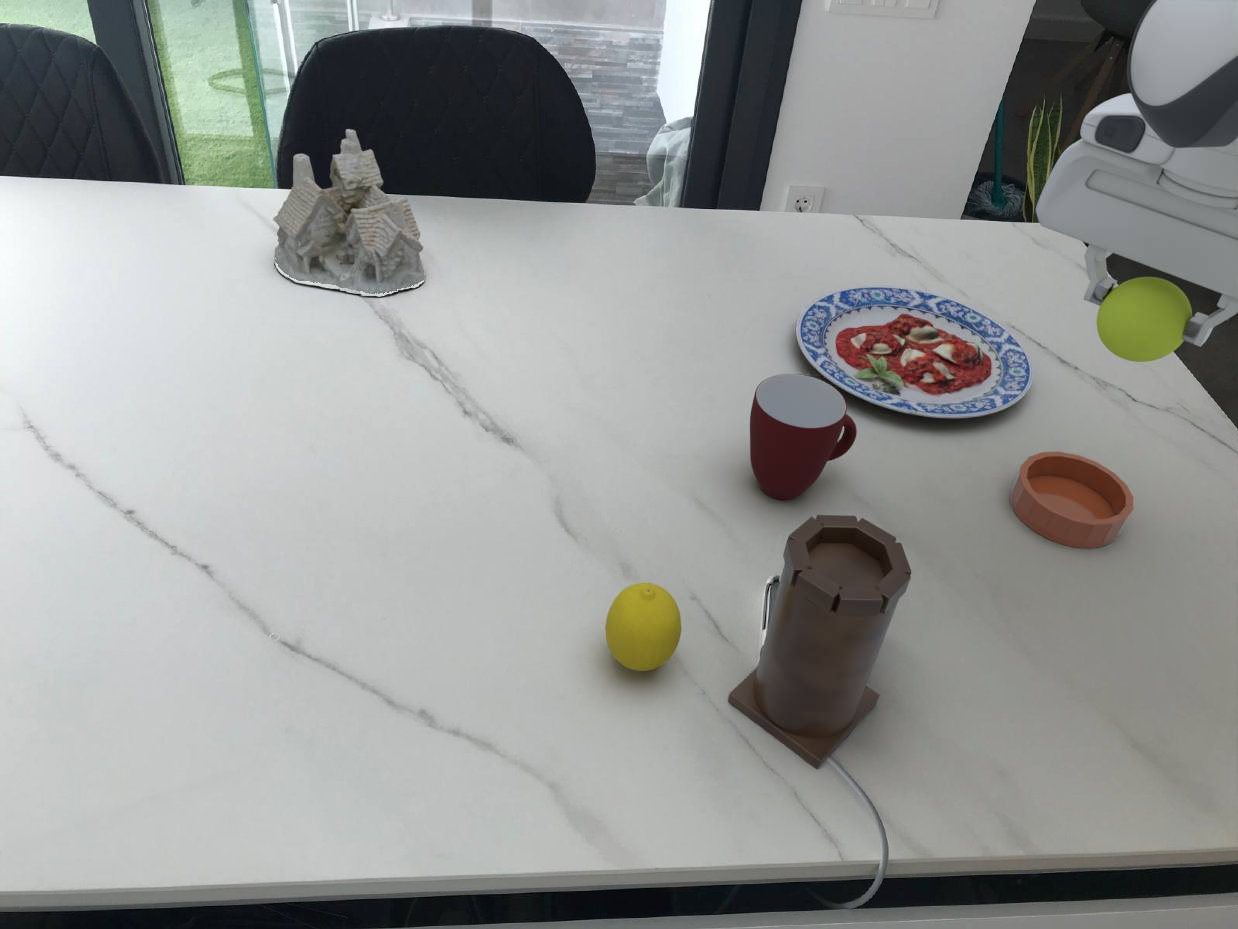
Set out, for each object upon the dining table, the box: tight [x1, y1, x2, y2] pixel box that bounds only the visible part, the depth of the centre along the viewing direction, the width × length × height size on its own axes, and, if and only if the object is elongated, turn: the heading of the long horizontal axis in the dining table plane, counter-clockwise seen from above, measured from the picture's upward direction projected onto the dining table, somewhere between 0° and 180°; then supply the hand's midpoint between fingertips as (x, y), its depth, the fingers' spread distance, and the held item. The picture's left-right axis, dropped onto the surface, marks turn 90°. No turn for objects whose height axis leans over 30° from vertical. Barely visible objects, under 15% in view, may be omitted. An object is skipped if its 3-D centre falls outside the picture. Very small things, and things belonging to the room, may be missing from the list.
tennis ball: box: [1096, 276, 1193, 363], centre depth 74 cm, size 6×6×6 cm
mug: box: [749, 373, 858, 501], centre depth 88 cm, size 11×8×10 cm
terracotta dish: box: [1009, 451, 1134, 549], centre depth 90 cm, size 10×10×3 cm
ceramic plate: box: [795, 285, 1034, 419], centre depth 108 cm, size 26×26×3 cm
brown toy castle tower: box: [727, 514, 913, 770], centre depth 67 cm, size 8×8×16 cm
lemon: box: [604, 582, 682, 672], centre depth 72 cm, size 6×6×8 cm
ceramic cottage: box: [272, 128, 426, 294], centre depth 111 cm, size 16×16×15 cm
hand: (1142, 319), depth 74 cm, fingers closed on tennis ball, 6 cm apart
